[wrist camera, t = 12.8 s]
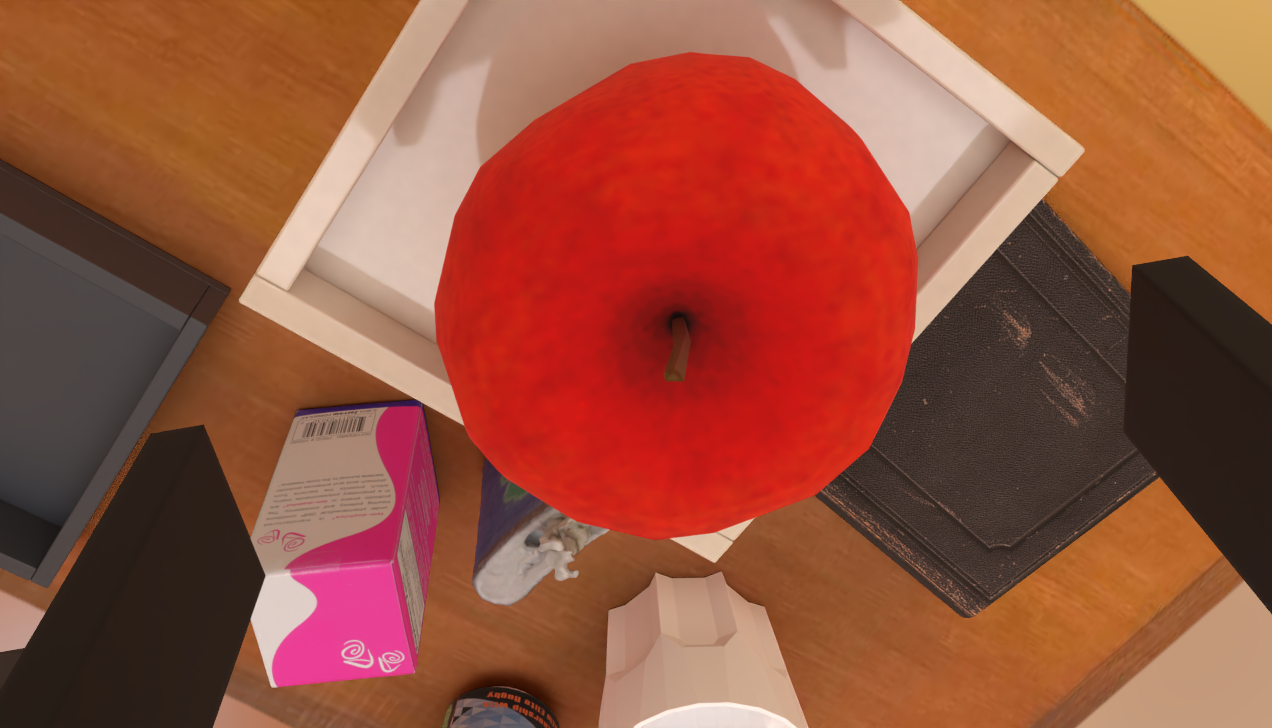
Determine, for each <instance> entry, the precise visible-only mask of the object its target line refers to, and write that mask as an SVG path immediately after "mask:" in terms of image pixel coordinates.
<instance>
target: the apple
mask: <svg viewBox="0 0 1272 728" xmlns="http://www.w3.org/2000/svg"><path fill="white" fill-rule="evenodd" d="M917 276H918V255H917V250H916V244H915V239H914V234H913V229H912V224H911V219H910V213H909V211H908V209H907V208H906V206H905V205H904V203H903V202H902V200H901V199H900V197H899V196H898V194H897V192H896V191H895V189H894V188H893V186H892V185H891V183H890V182H889V180H888V179H887V177H886V176H885V174H884V172H883V171H882V169H881V168H880V166H879V165H878V163H877V162H876V160H875V159H874V157H873V156H872V154H871V153H870V151H869V149H868V148H867V146H866V145H865V143H864V142H863V140H862V139H861V138H860V137H859V135H858V134H857V133H856V132H855V131H854V130H853V129H852V128H851V127H850V126H849V125H848V124H847V123H846V122H844V121H843V120H842V119H841V118H840V117H839V116H838V115H836V114H835V113H834V112H833V111H832V110H831V109H829V108H828V107H827V106H826V105H825V104H824V103H822V102H821V101H820V100H819V99H818V98H817V97H816V96H814V95H813V94H812V93H811V92H810V91H809V90H807V89H806V88H805V87H804V86H803V85H802V84H800V83H799V82H798V81H797V80H796V79H794V78H792V77H790V76H788V75H786V74H784V73H782V72H780V71H777V70H775V69H773V68H771V67H769V66H767V65H765V64H763V63H761V62H759V61H757V60H754V59H752V58H750V57H741V56H729V55H716V54H703V53H695V52H687V53H682V54H677V55H672V56H667V57H662V58H657V59H652V60H647V61H642V62H636V63H631V64H629V65H627V66H625V67H624V68H622V69H620V70H619V71H617V72H615V73H614V74H612V75H610V76H608V77H607V78H605V79H603V80H602V81H600V82H598V83H596V84H595V85H593V86H591V87H590V88H588V89H586V90H585V91H583V92H581V93H579V94H578V95H576V96H574V97H573V98H571V99H569V100H567V101H566V102H564V103H562V104H561V105H559V106H557V107H556V108H554V109H552V110H550V111H549V112H547V113H545V114H544V115H542V116H540V117H539V118H537V119H535V120H534V121H533V122H531V123H530V124H529V125H528V126H527V127H526V128H524V129H523V130H522V131H521V132H520V133H519V134H518V135H516V136H515V137H514V138H513V139H512V140H511V141H509V142H508V143H507V144H506V145H505V146H504V147H503V148H501V149H500V150H499V151H498V152H497V153H496V154H494V155H493V156H492V157H491V158H490V159H489V160H488V161H486V162H485V163H484V164H483V165H482V166H481V167H480V168H479V170H478V172H477V174H476V176H475V178H474V180H473V181H472V183H471V185H470V187H469V189H468V191H467V193H466V195H465V197H464V199H463V201H462V202H461V204H460V206H459V208H458V210H457V212H456V214H455V216H454V220H453V225H452V229H451V233H450V238H449V242H448V246H447V251H446V255H445V259H444V263H443V268H442V272H441V276H440V281H439V285H438V289H437V293H436V298H435V302H434V309H435V325H436V341H437V344H438V347H439V350H440V353H441V356H442V359H443V362H444V365H445V368H446V371H447V374H448V377H449V380H450V383H451V386H452V389H453V392H454V396H455V399H456V402H457V405H458V408H459V411H460V414H461V417H462V420H463V423H464V426H465V429H466V432H467V435H468V437H469V438H470V439H471V440H472V441H473V443H474V444H475V445H476V446H477V447H478V448H479V450H480V451H481V452H482V453H483V454H484V455H485V457H486V458H487V459H488V460H489V461H490V462H491V464H492V465H493V466H494V467H495V468H496V469H497V470H498V471H499V472H500V473H501V474H502V475H503V476H504V477H505V478H506V479H508V480H509V481H511V482H512V483H514V484H516V485H517V486H519V487H521V488H522V489H524V490H525V491H527V492H529V493H530V494H532V495H533V496H535V497H537V498H538V499H540V500H542V501H543V502H545V503H546V504H548V505H550V506H551V507H553V508H554V509H556V510H558V511H559V512H561V513H563V514H564V515H566V516H568V517H569V518H571V519H573V520H575V521H577V522H579V523H584V524H588V525H592V526H597V527H601V528H605V529H610V530H614V531H618V532H622V533H627V534H631V535H635V536H640V537H644V538H648V539H653V540H660V539H668V538H677V537H685V536H693V535H702V534H710V533H715V532H718V531H721V530H723V529H726V528H729V527H731V526H734V525H737V524H739V523H742V522H745V521H747V520H750V519H753V518H755V517H758V516H761V515H763V514H766V513H769V512H771V511H774V510H777V509H779V508H782V507H785V506H787V505H790V504H793V503H795V502H798V501H801V500H803V499H806V498H809V497H811V496H814V495H816V494H817V493H819V492H820V491H821V490H822V489H823V488H824V487H825V486H827V485H828V484H829V483H830V482H831V481H832V480H833V479H835V478H836V477H837V476H838V475H839V474H840V473H841V472H843V471H844V470H845V469H846V468H847V467H848V466H849V465H851V464H852V463H853V462H854V461H855V460H856V459H858V458H859V457H860V456H861V455H862V454H863V453H864V452H866V451H867V450H868V449H869V447H870V445H871V443H872V441H873V439H874V437H875V436H876V434H877V432H878V430H879V428H880V426H881V424H882V422H883V420H884V418H885V416H886V414H887V412H888V410H889V408H890V406H891V404H892V402H893V399H894V397H895V395H896V393H897V391H898V389H899V387H900V385H901V383H902V380H903V375H904V371H905V367H906V363H907V359H908V355H909V351H910V347H911V343H912V339H913V335H914V331H915V321H916V299H917Z"/></svg>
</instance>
